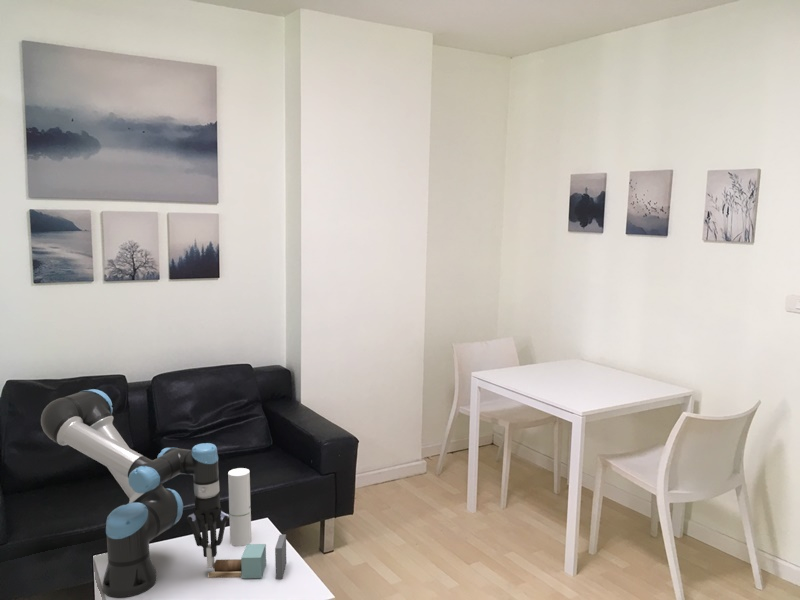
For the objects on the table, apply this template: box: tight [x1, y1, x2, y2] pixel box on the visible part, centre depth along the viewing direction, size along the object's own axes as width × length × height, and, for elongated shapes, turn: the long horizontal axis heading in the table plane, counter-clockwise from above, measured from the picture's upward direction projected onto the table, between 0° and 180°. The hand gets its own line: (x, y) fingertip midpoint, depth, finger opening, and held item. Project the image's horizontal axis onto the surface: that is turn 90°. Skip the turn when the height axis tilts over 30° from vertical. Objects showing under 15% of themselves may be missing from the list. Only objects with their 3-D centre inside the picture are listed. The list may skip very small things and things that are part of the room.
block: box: [241, 543, 267, 579], centre depth 204 cm, size 6×9×7 cm
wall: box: [274, 534, 287, 580], centre depth 204 cm, size 2×9×10 cm, turn 2°
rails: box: [207, 562, 242, 579], centre depth 204 cm, size 10×6×2 cm, turn 92°
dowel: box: [213, 558, 242, 573], centre depth 204 cm, size 8×4×4 cm, turn 92°
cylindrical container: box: [227, 467, 252, 547], centre depth 222 cm, size 7×7×25 cm
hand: (210, 565), depth 203 cm, fingers closed
